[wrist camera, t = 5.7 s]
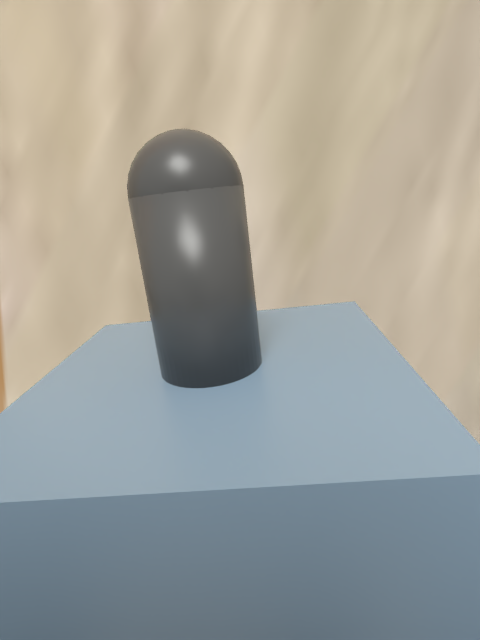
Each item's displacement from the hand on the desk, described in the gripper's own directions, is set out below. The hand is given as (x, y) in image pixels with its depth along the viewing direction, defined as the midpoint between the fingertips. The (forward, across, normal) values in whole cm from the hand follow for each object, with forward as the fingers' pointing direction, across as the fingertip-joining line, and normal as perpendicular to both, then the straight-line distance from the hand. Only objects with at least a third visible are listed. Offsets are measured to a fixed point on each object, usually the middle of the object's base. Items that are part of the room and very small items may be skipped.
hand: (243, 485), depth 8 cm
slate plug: (+1, 0, 0) cm, 1 cm away
